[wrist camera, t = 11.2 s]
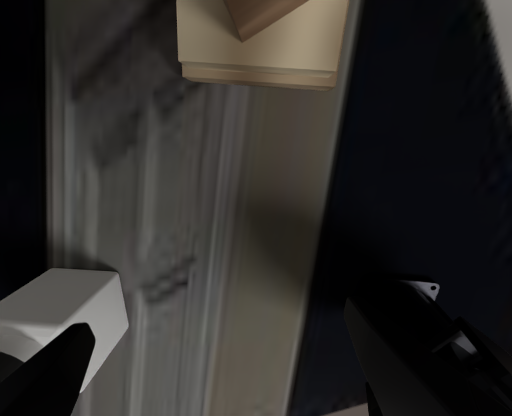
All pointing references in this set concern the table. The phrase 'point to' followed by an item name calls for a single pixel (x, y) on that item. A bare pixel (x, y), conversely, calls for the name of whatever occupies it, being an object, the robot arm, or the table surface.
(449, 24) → the table surface
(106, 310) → the medicine bottle
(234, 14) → the walnut block
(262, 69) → the plinth
